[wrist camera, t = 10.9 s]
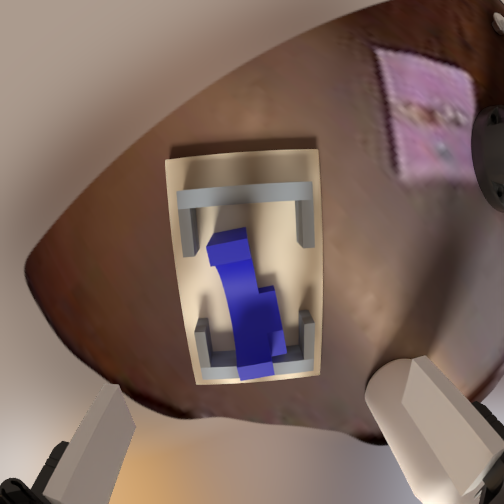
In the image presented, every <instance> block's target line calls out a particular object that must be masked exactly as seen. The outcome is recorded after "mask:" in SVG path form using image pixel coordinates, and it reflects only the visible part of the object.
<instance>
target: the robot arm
mask: <svg viewBox="0 0 504 504" xmlns="http://www.w3.org/2000/svg"><path fill="white" fill-rule="evenodd" d="M472 156H473V163H474V169H475V173H476V177H477V180H478V183H479V186H480V188H481V190H482V192H483V194H484V196H485V198H486V199H487V201H488V202H489V203H490V205H491V206H492V207H493V208H495V209H496V210H498V211H500V212H504V105H494V106H489V107H486V108H484V109H483V110H482V111H481V112H480V113H479V115H478V116H477V118H476V121H475V124H474V128H473V134H472ZM401 403H402V404H403V406H404V407H405V409H406V410H407V412H408V413H409V415H410V416H411V418H412V419H413V421H414V422H415V424H416V425H417V427H418V428H419V430H420V432H421V433H422V435H423V436H424V438H425V439H426V441H427V442H428V444H429V446H430V447H431V449H432V450H433V452H434V453H435V455H436V457H437V458H438V460H439V461H440V463H441V465H442V466H443V468H444V469H445V471H446V473H447V474H448V476H449V477H450V479H451V481H452V482H453V484H454V486H455V487H456V489H457V491H458V492H459V494H460V496H463V495H465V494H467V493H468V492H470V491H472V490H473V489H475V488H476V487H477V486H478V485H479V483H480V482H481V481H482V480H483V482H484V483H485V484H484V485H483V487H482V488H481V489H480V490H479V491H478V492H477V493H476V495H475V497H474V499H476V498H477V497H478V496H479V495H480V494H481V496H480V498H479V499H480V501H479V504H504V426H503V424H502V423H501V422H500V421H498V420H497V418H496V417H495V416H494V415H492V412H491V411H490V410H489V409H488V408H487V407H486V406H485V405H483V404H481V403H479V402H477V401H475V402H473V403H470V402H469V401H468V400H467V398H466V397H465V396H464V395H463V394H462V393H461V392H460V391H459V390H458V389H457V388H456V387H455V385H454V384H453V383H452V382H451V381H450V380H449V379H448V378H447V377H446V376H445V375H444V374H443V373H442V372H441V371H440V370H439V369H438V368H437V366H436V365H435V364H434V363H433V362H432V361H431V360H430V359H429V358H428V357H427V356H426V355H425V356H421V357H417V358H414V359H412V363H411V368H410V372H409V376H408V380H407V384H406V387H405V391H404V395H403V398H402V402H401ZM135 428H136V426H135V423H134V421H133V419H132V416H131V414H130V412H129V409H128V407H127V405H126V402H125V400H124V397H123V394H122V392H121V389H120V387H119V385H115V384H104V385H103V387H102V388H101V390H100V391H99V393H98V395H97V396H96V398H95V400H94V402H93V403H92V405H91V406H90V408H89V410H88V411H87V413H86V415H85V417H84V418H83V420H82V422H81V424H80V425H79V427H78V429H77V430H76V432H75V434H74V436H73V437H72V439H71V441H70V443H69V442H65V441H62V442H61V443H59V444H58V445H57V446H56V447H54V449H53V450H52V452H51V454H50V456H49V458H48V459H47V461H46V463H45V465H44V466H43V468H42V470H41V472H40V473H39V475H38V477H37V479H36V481H35V483H34V484H33V486H32V488H31V489H29V488H28V487H27V486H26V485H25V484H24V483H23V482H22V481H21V480H19V479H16V478H9V479H7V480H5V481H4V482H3V483H1V485H0V504H108V503H109V500H110V497H111V494H112V491H113V489H114V486H115V483H116V480H117V477H118V474H119V471H120V469H121V466H122V463H123V460H124V457H125V455H126V452H127V449H128V447H129V444H130V441H131V439H132V436H133V433H134V430H135Z"/></svg>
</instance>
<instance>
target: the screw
mask: <svg viewBox="0 0 504 504" xmlns="http://www.w3.org/2000/svg"><path fill="white" fill-rule="evenodd" d="M493 18H494V21H493V22H492V26H493V28H494V30H495V32H497V33H498V34H499V35H503V34H504V17H503V16H502V15H500V14H498V13H494V14H493Z"/></svg>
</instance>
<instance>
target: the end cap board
mask: <svg viewBox="0 0 504 504" xmlns="http://www.w3.org/2000/svg"><path fill="white" fill-rule="evenodd" d="M165 167H166V181H167V193H168V204H169V215H170V224H171V233H172V242H173V250H174V258H175V266H176V273H177V280H178V287H179V293H180V300H181V306H182V312H183V318H184V324H185V329H186V335H187V340H188V346H189V351H190V356H191V361H192V366H193V371H194V376H195V380H196V385H204V384H231V383H248V382H261V381H272V380H282V379H291V378H299V377H307V376H314V375H320V362H321V340H322V307H323V241H322V208H321V186H320V169H319V154H318V149H299V150H270V151H251V152H237V153H224V154H213V155H203V156H194V157H185V158H177V159H169V160H165ZM242 227H246V231H247V236H248V241H249V246H250V251H251V256H252V261H253V266H254V271H255V276H256V281H257V286H258V288H261V287H266V286H271V285H274V288H275V292H276V297H277V303H278V308H279V313H280V318H281V323H282V327H283V332H284V338H285V344H286V350H287V354H282V355H277V356H272V362H273V368H274V373H275V375H272V376H267V377H261V378H256V379H250V380H244V381H240V378H239V374H238V371H237V360H236V349H235V341H234V335H233V328H232V323H231V318H230V313H229V308H228V304H227V299H226V296H225V292H224V288H223V285H222V282H221V279H220V276H219V273H218V271H217V269H216V267H215V266H212V267H210V263H209V258H208V254H207V250H206V246H207V244H208V242H209V240H210V238H211V237H212V235H213V233H217V232H222V231H227V230H232V229H237V228H242Z"/></svg>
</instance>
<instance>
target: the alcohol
mask: <svg viewBox="0 0 504 504" xmlns="http://www.w3.org/2000/svg"><path fill="white" fill-rule="evenodd" d="M411 363H412V359H397V360H393V361H391V362H389V363H387V364H385V365H384V366H382V367H381V368H380V369H378V370H377V371H376V372H375V373H374V375H373V376H372V377H371V379H370V381H369V382H368V385H367V388H366V392H365V401H366V403H367V405H368V407H369V409H370V410H371V412H372V414H373V416H374V418H375V420H376V422H377V423H378V425H379V427H380V429H381V431H382V433H383V435H384V437H385V439H386V440H387V442H388V444H389V446H390V448H391V450H392V452H393V454H394V456H395V458H396V460H397V461H398V463H399V465H400V467H401V469H402V471H403V473H404V475H405V477H406V479H407V481H408V483H409V485H410V487H411V489H412V491H413V493H414V495H415V496H416V497H417V498H418V499H419V500H420V501H421V502H422V503H423V504H479V501H480V499H479V498H480V496H481V494H480V495H479V496H478V497H477V498H476V499H474V497H475V495H476V493H477V492H478V491H479V490H480V489H481V488H482V487H483V485H484V484H485V483H484V482H483V480H482V481H481V482H480V483H479V485H478V486H477V487H476V488H475V489H473V490H472V491H470V492H468V493H467V494H465V495H463V496H460V494H459V492H458V491H457V489H456V487H455V486H454V484H453V482H452V481H451V479H450V477H449V476H448V474H447V473H446V471H445V469H444V468H443V466H442V465H441V463H440V461H439V460H438V458H437V457H436V455H435V453H434V452H433V450H432V449H431V447H430V446H429V444H428V442H427V441H426V439H425V438H424V436H423V435H422V433H421V432H420V430H419V428H418V427H417V425H416V424H415V422H414V421H413V419H412V418H411V416H410V415H409V413H408V412H407V410H406V409H405V407H404V406H403V404H402V403H401V402H402V398H403V395H404V391H405V387H406V384H407V380H408V376H409V372H410V368H411Z"/></svg>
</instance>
